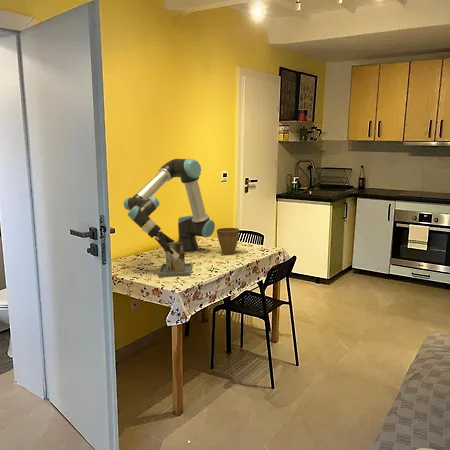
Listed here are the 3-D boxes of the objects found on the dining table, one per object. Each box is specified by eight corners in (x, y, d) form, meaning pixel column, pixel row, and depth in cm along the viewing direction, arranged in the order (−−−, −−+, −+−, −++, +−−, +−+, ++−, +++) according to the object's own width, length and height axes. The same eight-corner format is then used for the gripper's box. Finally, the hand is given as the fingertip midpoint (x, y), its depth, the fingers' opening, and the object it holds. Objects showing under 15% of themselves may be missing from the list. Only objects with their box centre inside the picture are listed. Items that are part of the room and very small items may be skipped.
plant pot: (240, 250, 306) (240, 227, 303) (238, 256, 291) (238, 231, 288) (218, 250, 307) (218, 227, 304) (215, 255, 292) (215, 231, 290)
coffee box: (180, 268, 262) (179, 241, 260) (185, 270, 257) (184, 243, 254) (165, 270, 257) (164, 243, 255) (170, 273, 252) (169, 245, 249)
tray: (162, 266, 268) (162, 263, 267) (192, 266, 267) (192, 263, 267) (157, 276, 248) (157, 272, 248) (189, 276, 248) (189, 272, 248)
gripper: (150, 229, 266) (176, 253, 269) (142, 238, 242) (171, 264, 244) (159, 220, 265) (185, 245, 268) (152, 228, 241) (181, 255, 243)
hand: (179, 254), depth 256 cm, fingers open, 13 cm apart
